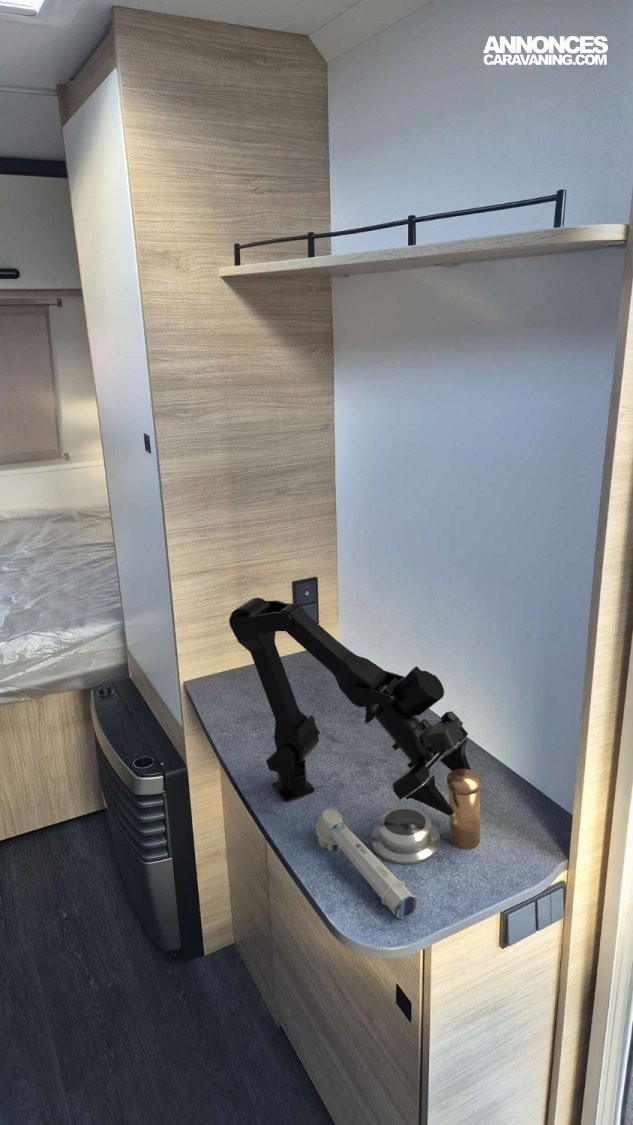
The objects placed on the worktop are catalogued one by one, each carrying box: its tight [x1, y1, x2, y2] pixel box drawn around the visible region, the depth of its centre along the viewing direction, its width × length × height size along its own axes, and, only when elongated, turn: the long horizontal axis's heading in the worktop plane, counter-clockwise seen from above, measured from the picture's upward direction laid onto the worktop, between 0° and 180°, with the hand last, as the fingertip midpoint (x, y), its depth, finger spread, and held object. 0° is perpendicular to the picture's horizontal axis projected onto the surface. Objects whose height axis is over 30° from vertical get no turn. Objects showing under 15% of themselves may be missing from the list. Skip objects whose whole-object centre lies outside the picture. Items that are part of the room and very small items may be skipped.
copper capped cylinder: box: [446, 769, 482, 850], centre depth 136 cm, size 6×6×12 cm
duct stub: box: [370, 805, 441, 866], centre depth 138 cm, size 12×12×4 cm
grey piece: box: [315, 808, 418, 920], centre depth 131 cm, size 5×7×25 cm
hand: (463, 799), depth 135 cm, fingers open, 9 cm apart
